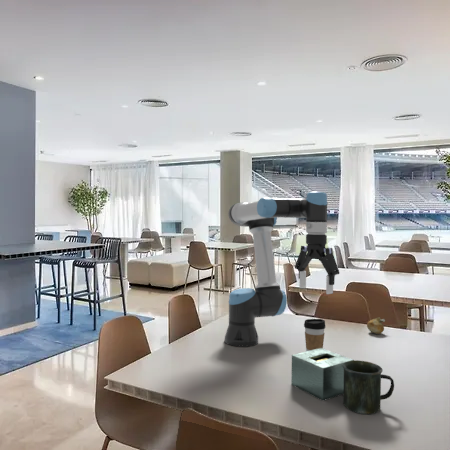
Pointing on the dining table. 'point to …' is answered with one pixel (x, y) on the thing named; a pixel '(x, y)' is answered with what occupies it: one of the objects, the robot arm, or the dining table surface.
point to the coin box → (319, 373)
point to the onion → (376, 325)
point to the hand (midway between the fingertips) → (315, 290)
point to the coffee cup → (314, 333)
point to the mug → (364, 386)
